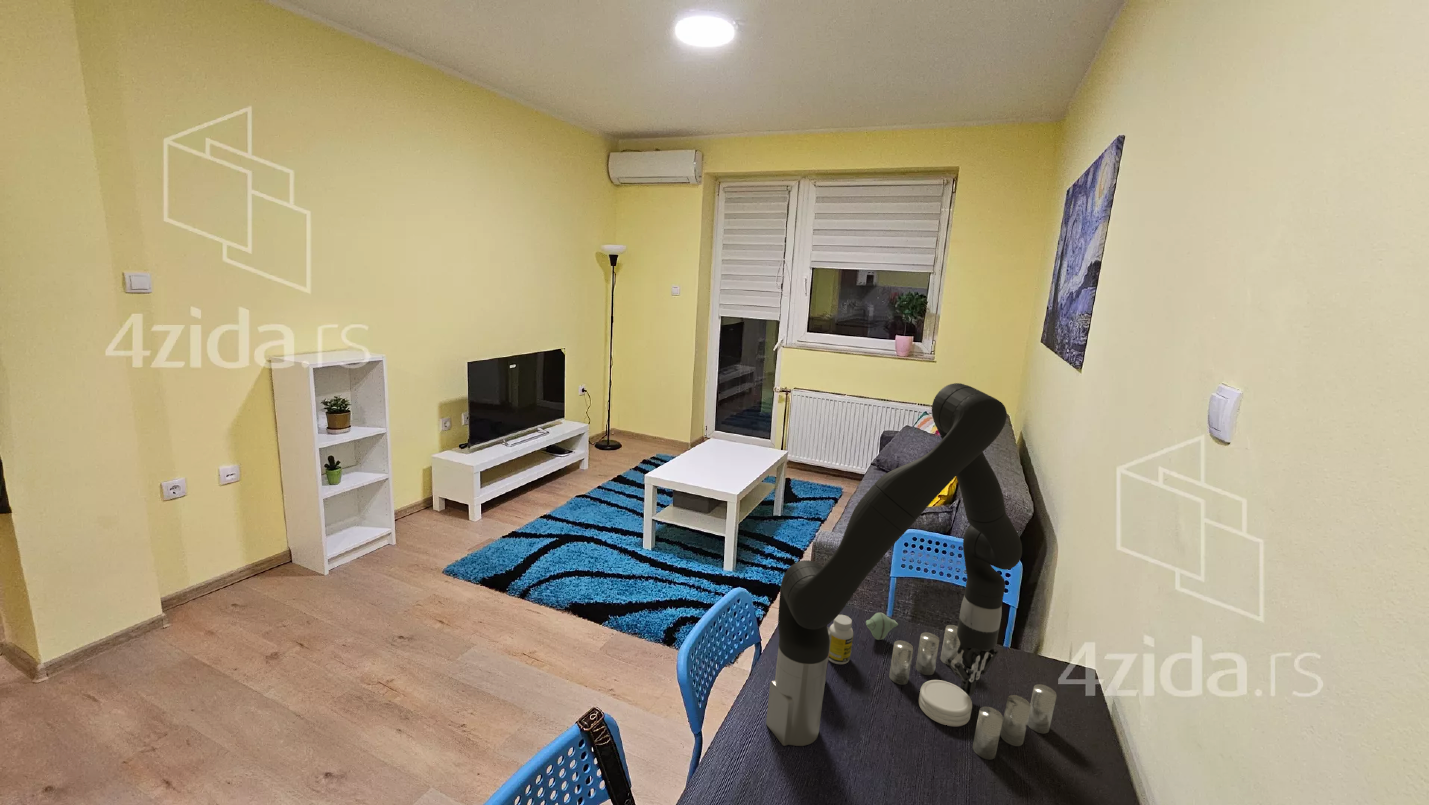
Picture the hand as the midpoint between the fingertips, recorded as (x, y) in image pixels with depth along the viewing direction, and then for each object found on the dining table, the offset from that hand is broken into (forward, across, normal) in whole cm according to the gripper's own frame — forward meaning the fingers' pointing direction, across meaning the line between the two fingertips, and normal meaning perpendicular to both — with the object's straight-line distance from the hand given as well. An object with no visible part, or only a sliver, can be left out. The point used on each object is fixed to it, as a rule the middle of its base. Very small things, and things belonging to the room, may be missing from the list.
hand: (967, 693), depth 125 cm
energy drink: (+1, -26, +18) cm, 32 cm away
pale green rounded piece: (+2, -2, +24) cm, 24 cm away
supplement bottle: (+2, -16, +22) cm, 27 cm away
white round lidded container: (+2, -7, 0) cm, 7 cm away
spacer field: (+2, 0, 0) cm, 2 cm away
